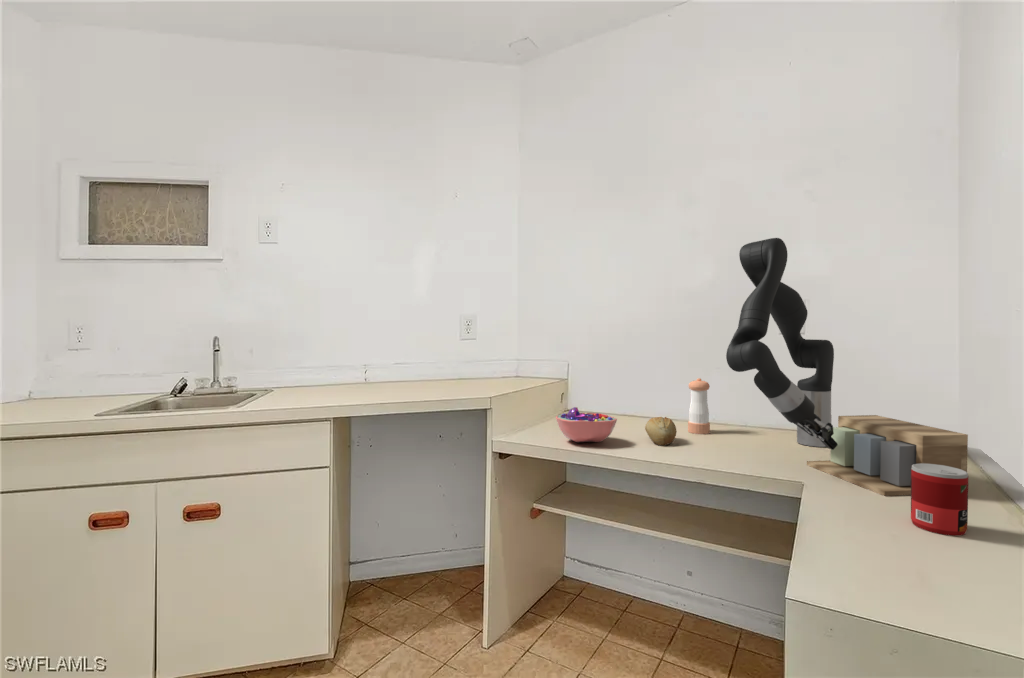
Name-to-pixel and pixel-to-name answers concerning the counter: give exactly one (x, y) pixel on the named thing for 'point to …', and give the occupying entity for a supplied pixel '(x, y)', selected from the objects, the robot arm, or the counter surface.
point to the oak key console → (928, 441)
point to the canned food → (939, 499)
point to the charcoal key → (897, 462)
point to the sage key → (843, 446)
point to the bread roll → (661, 430)
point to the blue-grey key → (868, 453)
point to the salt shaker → (699, 408)
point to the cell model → (585, 426)
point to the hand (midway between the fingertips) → (833, 446)
